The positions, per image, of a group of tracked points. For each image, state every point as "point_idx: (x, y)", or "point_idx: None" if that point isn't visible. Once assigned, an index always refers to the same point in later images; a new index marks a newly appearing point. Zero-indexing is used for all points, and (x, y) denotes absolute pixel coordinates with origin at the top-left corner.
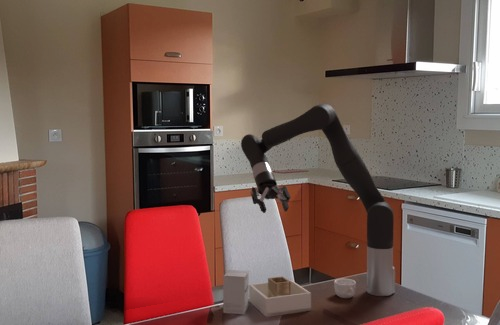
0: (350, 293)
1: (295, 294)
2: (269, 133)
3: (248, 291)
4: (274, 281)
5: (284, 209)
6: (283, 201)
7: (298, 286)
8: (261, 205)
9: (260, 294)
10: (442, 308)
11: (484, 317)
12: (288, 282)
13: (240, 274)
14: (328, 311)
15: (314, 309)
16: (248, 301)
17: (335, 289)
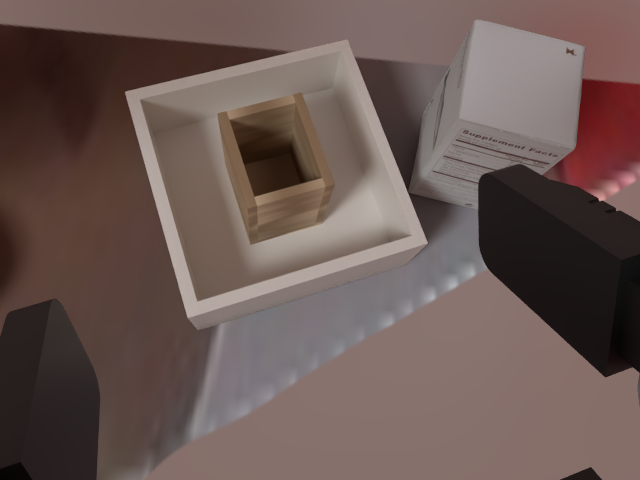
0: None
1: (206, 79)
2: None
3: (426, 160)
4: (303, 124)
5: (88, 397)
6: (35, 465)
7: (166, 194)
8: (616, 216)
9: (371, 101)
10: None
11: None
12: (229, 112)
13: (499, 52)
14: (68, 119)
15: (123, 145)
16: (414, 180)
17: None
